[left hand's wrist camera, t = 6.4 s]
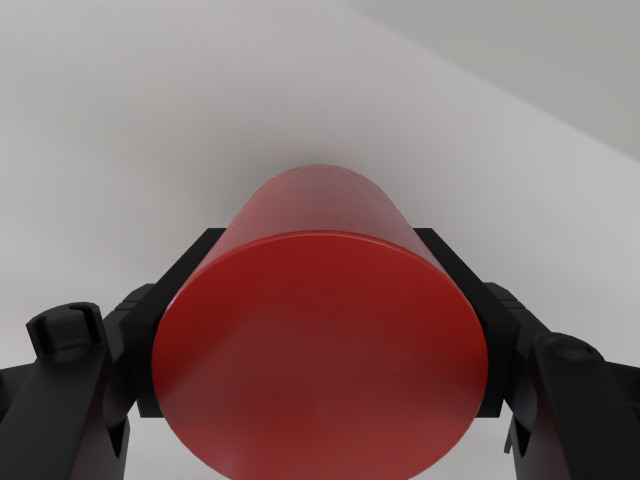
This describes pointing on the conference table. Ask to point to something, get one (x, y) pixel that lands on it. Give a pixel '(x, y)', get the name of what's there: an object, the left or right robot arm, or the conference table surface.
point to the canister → (319, 340)
